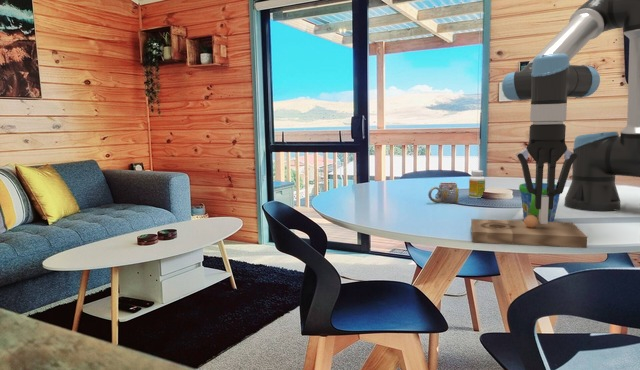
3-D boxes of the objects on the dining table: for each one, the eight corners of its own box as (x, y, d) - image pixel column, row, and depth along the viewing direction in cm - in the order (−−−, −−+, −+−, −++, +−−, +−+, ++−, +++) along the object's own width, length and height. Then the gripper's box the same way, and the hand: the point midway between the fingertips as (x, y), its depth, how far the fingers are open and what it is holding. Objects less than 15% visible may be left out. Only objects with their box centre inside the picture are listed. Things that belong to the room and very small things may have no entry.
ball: (520, 217, 112) (526, 228, 112) (523, 220, 109) (529, 231, 109) (532, 212, 111) (538, 222, 111) (535, 214, 109) (541, 225, 109)
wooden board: (572, 232, 115) (572, 222, 114) (586, 247, 102) (587, 236, 101) (471, 228, 122) (471, 218, 121) (472, 242, 108) (472, 231, 108)
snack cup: (552, 230, 118) (553, 190, 116) (509, 224, 124) (511, 187, 123) (566, 218, 129) (568, 183, 128) (527, 214, 136) (528, 180, 135)
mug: (449, 199, 164) (449, 181, 163) (462, 202, 158) (463, 183, 157) (421, 202, 159) (421, 184, 158) (434, 205, 153) (434, 186, 152)
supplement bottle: (478, 199, 163) (479, 172, 161) (465, 197, 167) (466, 170, 165) (487, 197, 166) (488, 170, 164) (474, 195, 170) (475, 169, 169)
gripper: (574, 122, 108) (569, 220, 111) (515, 123, 112) (511, 218, 115) (583, 122, 101) (577, 227, 104) (519, 124, 105) (515, 225, 108)
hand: (543, 222), depth 110 cm, fingers closed
